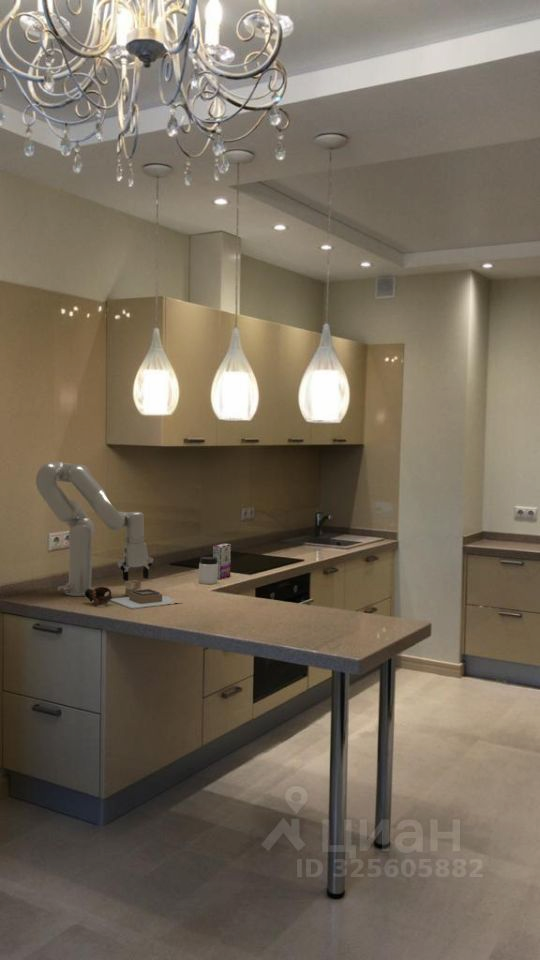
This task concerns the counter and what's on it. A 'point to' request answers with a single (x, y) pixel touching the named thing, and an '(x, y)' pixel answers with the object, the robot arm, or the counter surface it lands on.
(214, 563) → the jar
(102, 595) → the brown animal figurine
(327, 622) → the counter surface
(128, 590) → the maple block
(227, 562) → the candy bar box
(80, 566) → the robot arm
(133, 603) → the base
